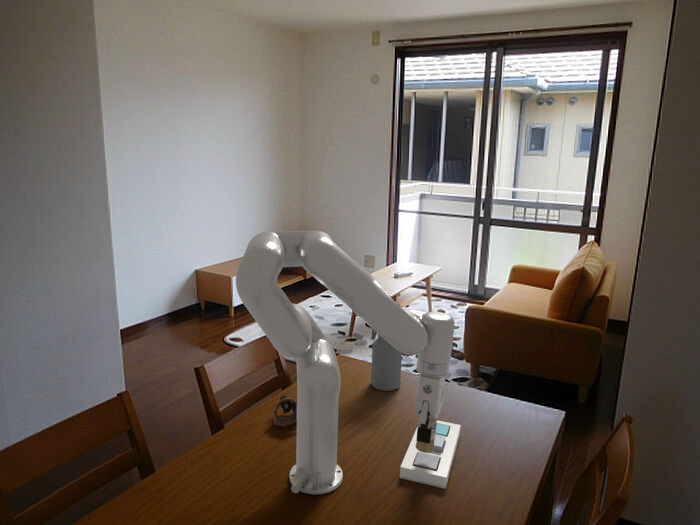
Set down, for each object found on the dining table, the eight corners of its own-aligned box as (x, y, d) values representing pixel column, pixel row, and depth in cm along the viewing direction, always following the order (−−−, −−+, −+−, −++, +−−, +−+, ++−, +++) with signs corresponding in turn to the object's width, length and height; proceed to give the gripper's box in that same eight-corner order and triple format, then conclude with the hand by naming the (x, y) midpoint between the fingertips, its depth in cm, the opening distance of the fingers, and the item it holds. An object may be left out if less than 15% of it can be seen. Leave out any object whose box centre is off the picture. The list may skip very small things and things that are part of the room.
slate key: (441, 455, 130) (442, 446, 129) (420, 451, 132) (420, 442, 131) (444, 444, 135) (445, 436, 134) (424, 440, 137) (424, 431, 136)
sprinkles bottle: (430, 456, 122) (436, 403, 119) (412, 449, 124) (417, 397, 121) (436, 447, 126) (442, 396, 123) (419, 440, 128) (424, 390, 125)
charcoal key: (435, 478, 123) (436, 469, 122) (413, 473, 124) (413, 463, 124) (439, 465, 128) (439, 456, 127) (417, 460, 129) (418, 451, 129)
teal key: (445, 443, 138) (446, 435, 137) (425, 439, 139) (426, 430, 139) (449, 433, 143) (449, 425, 142) (429, 429, 144) (430, 421, 144)
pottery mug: (315, 425, 147) (307, 408, 142) (286, 445, 144) (277, 428, 139) (297, 398, 156) (289, 381, 151) (270, 416, 153) (260, 399, 148)
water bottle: (366, 389, 168) (370, 307, 162) (372, 377, 178) (376, 298, 172) (398, 393, 166) (403, 310, 160) (401, 380, 176) (406, 301, 169)
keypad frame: (445, 489, 120) (446, 477, 120) (399, 477, 124) (400, 466, 123) (459, 434, 143) (460, 425, 143) (420, 426, 147) (421, 417, 146)
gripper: (443, 383, 111) (434, 459, 115) (454, 355, 127) (446, 423, 131) (409, 376, 113) (401, 450, 117) (424, 350, 129) (417, 416, 133)
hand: (425, 435), depth 124 cm, fingers closed on sprinkles bottle, 4 cm apart
